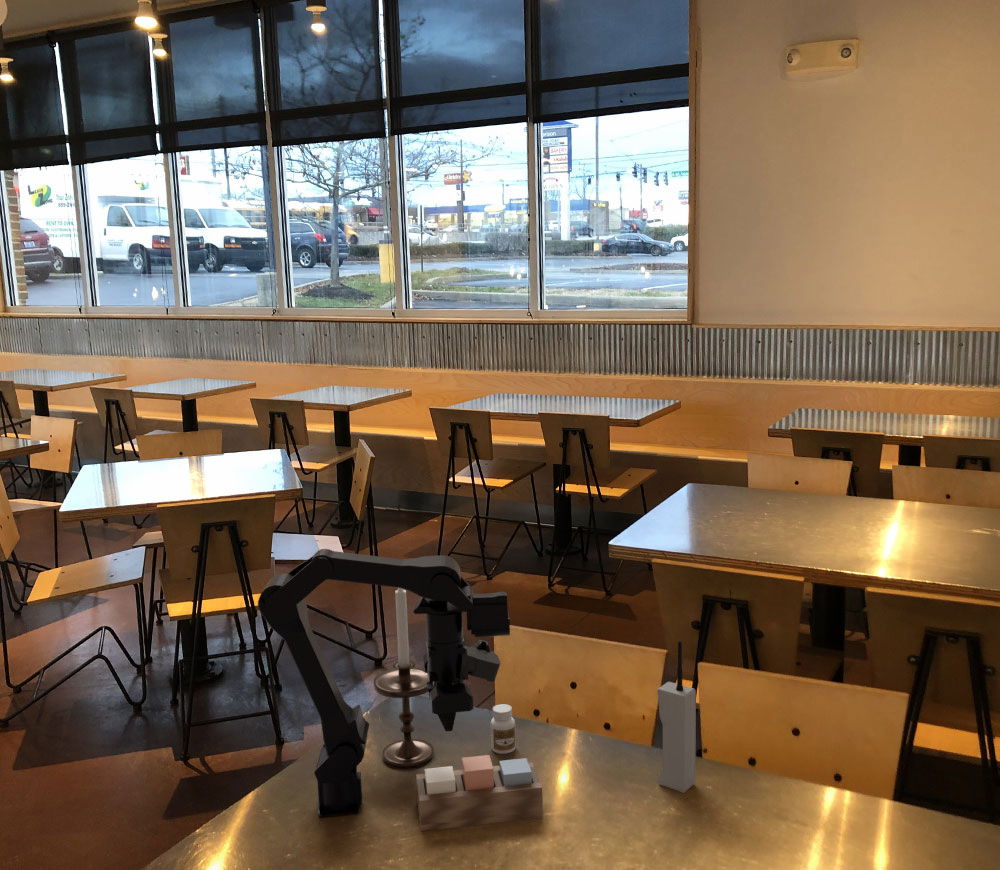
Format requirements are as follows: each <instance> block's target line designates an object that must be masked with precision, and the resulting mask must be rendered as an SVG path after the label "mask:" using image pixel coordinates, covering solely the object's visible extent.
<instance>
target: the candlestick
mask: <svg viewBox="0 0 1000 870" xmlns="http://www.w3.org/2000/svg"><path fill="white" fill-rule="evenodd" d="M394 594H395V595H394V596H395V597H394V598H395V611H396V612H395V613H396V614H395V615H396V632H397V633H396V635H397V637H396V638H397V654H398V656H397V659H398V661H396V662H394V663H393V664H392V667H393V668H391V669H387V670H384V671H382V672H380V673H378V674H377V675H376V676H375V677H374V679H373V689H374V691H375V692H376V693H377V694H379V695H381V696H384V697H388V698H392V699H393V698H394V699H401V704H402V705H401V708H402V711H401V712H400V713H399V714H398V719H399V721H400V723H402V726H400V728H399V729H400V730H399V731H400V732H401V733H402V734H403V739H400V740H397V741H394V742H391V743H389V744H387V745H385V746H386V747H384V749H383V750H382V760H383V762H384V764H386V765H387V766H389V767H391V768H394V769H395V768H396V769H404V770H405V769H406V770H407V769H414V768H418V767H423V766H425V765H426V764H428V763H429V762H431V760H433V758H434V754H435V752H434V750H435V749H434V746H433V744H432V743H430V742H429V741H426V740H424V739H419V738H412V732H414V730H415V727H414V726H413V725H412V722H413V721H414V719H415V713H414V712H413V711H411V704H410V702H411V701H410V700H411V699H410V698H414V697H419V696H422V695H424V694H426V693H429V691H428V688H427V682H430V681H429V676H428V673H424V667H420V666H416V662H415V661H411V660H410V649H409V629H408V605H407V590H405V589H402V588H398V587H397V590H395V593H394Z"/></svg>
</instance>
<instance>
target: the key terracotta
mask: <svg viewBox="0 0 1000 870" xmlns="http://www.w3.org/2000/svg"><path fill="white" fill-rule="evenodd" d="M493 766H494V765H493V763H492V759H491V756H490V755H489V754H485V755H477V756H476V755H475V756H467V757H461V767H462V769H461V770H462V772H463V784H464V788H465V791H467V790H476V789H485V788H494V772H493Z"/></svg>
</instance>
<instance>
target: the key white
mask: <svg viewBox="0 0 1000 870" xmlns="http://www.w3.org/2000/svg"><path fill="white" fill-rule="evenodd" d="M453 771H454V768H453V765H449V766H442V767H441V766H438V767H432V768H429V767H428V768H424V774H425V788H426V795H431V794H440V793H449V792H456V786H455V776H454V772H453Z"/></svg>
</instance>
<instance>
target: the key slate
mask: <svg viewBox="0 0 1000 870" xmlns="http://www.w3.org/2000/svg"><path fill="white" fill-rule="evenodd" d="M528 763H529V761H528V758H527V757H525V758H524V757H522V758H513V759H506V760H505V759H504V760H499V766H500V780H501V783H502V787H504V786H513V785H522V784H531V783H532V772H531V769H530V766H529V764H528Z"/></svg>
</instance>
